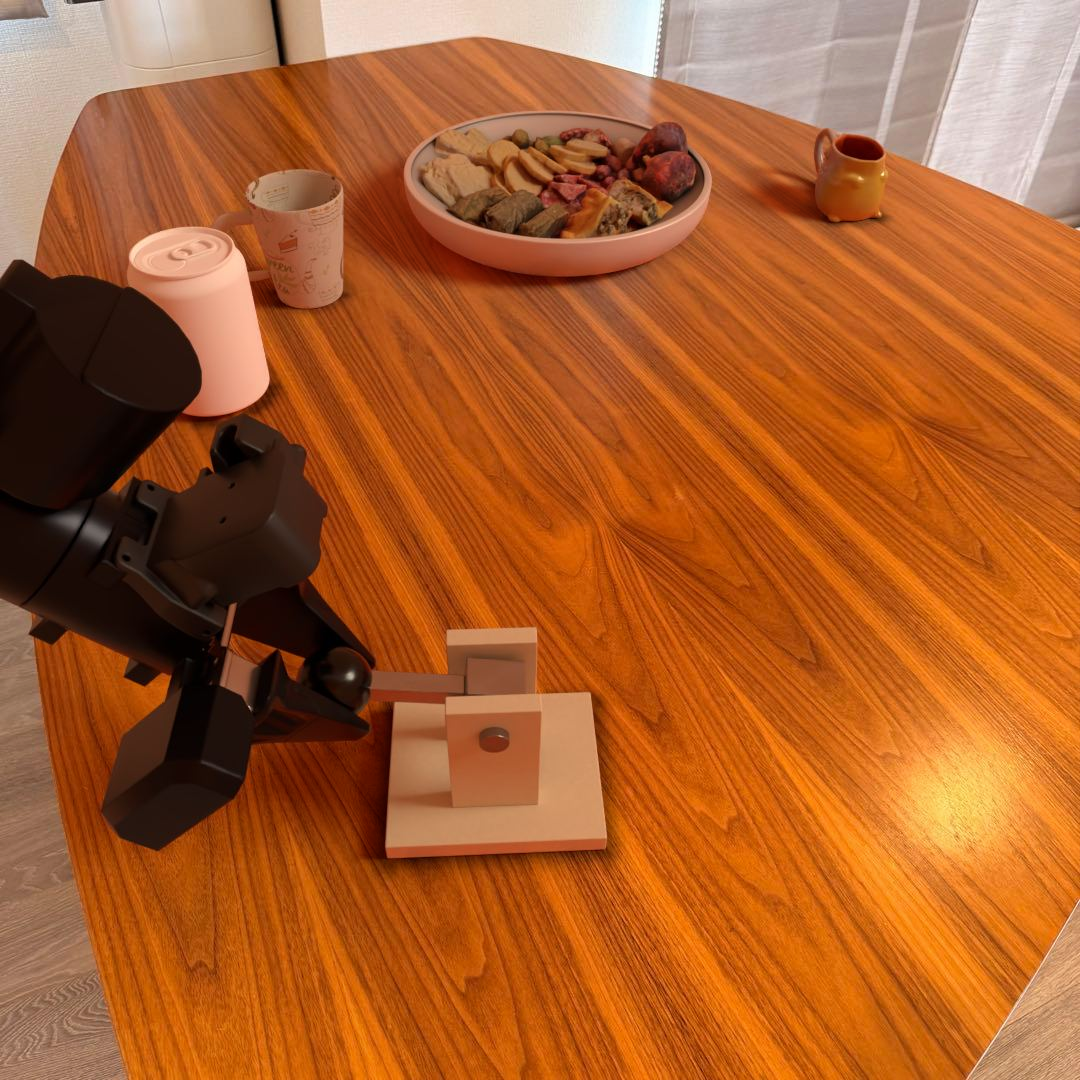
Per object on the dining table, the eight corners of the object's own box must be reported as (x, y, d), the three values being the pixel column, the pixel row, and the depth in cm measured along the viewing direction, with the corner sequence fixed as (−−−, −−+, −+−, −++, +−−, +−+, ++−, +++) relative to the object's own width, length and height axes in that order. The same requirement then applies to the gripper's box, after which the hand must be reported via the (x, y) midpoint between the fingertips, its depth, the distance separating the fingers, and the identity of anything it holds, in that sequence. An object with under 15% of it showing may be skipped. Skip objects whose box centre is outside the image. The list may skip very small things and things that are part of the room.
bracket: (386, 859, 49) (367, 755, 42) (395, 710, 55) (380, 600, 48) (605, 849, 49) (619, 745, 43) (589, 704, 56) (599, 594, 49)
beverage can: (144, 391, 76) (98, 250, 68) (232, 350, 80) (199, 212, 72) (203, 437, 72) (162, 292, 64) (292, 391, 76) (264, 250, 68)
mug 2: (889, 222, 99) (908, 158, 94) (826, 227, 98) (841, 162, 93) (843, 172, 107) (858, 111, 103) (784, 176, 106) (797, 114, 102)
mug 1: (361, 309, 85) (348, 206, 78) (220, 327, 83) (194, 221, 76) (349, 265, 91) (336, 165, 84) (216, 281, 88) (192, 178, 82)
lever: (291, 736, 45) (290, 689, 43) (300, 674, 48) (299, 627, 45) (517, 745, 47) (529, 701, 45) (515, 685, 50) (525, 640, 47)
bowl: (472, 320, 84) (469, 236, 79) (369, 180, 104) (361, 104, 98) (763, 256, 93) (779, 176, 88) (619, 139, 113) (624, 67, 107)
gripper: (98, 623, 28) (487, 807, 36) (216, 289, 41) (481, 480, 50) (-69, 781, 33) (306, 911, 41) (83, 438, 46) (344, 589, 55)
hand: (367, 700), depth 47 cm, fingers closed on lever, 3 cm apart
